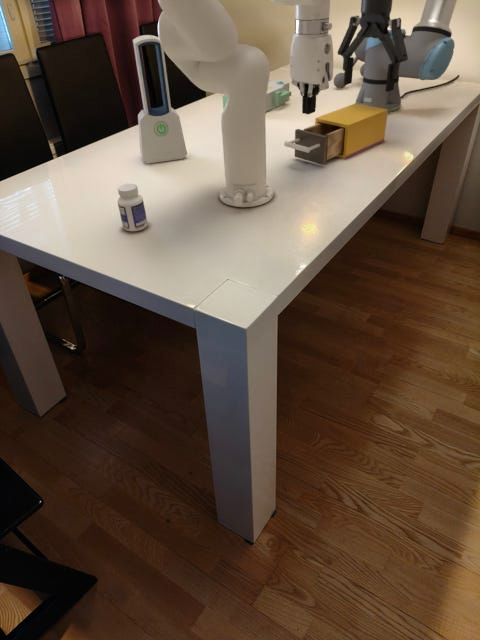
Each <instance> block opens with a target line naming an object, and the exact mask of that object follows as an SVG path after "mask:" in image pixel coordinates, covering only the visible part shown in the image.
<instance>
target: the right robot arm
mask: <svg viewBox="0 0 480 640" xmlns="http://www.w3.org/2000/svg"><path fill="white" fill-rule="evenodd" d="M457 2H458V0H425V3H424V6H423V10H422V13H421V18H420V21H419V22H418V23H416V24H415V25H413V26H412V30H411V34H410V35H409V34H408V35H407V31H406V29H405V28H402V18H401V17H397V18H392V19H391V13H392V8H393V0H361V2H360V3H361V4H360V13H361V15H353V16H350V17H349V23H348V27H347V29H346V32H345V34H344V35H343V39H342V41H341V43H340V45H339V47H338V50H337V55H338V56H341V57H342V59H343V60H342V71H343V73H344V72H345V73H344V85H346V86H347V85H350V84H352V83H353V71H354V66H353V61H354V58H355V57H354V56H353V54H355V50H356V49H357V48H358V46H359V45H360V44H361V42H362V41H363V40H364V38H365V37H366V38H368V39H367V45H366V49H365V51H366V53H365V62H364V63H363V64H364V75H363V76H362V84H361V87H360V89H359V92H358V93H357V97H356V100H355V103H356V104H362V105H367V106H372V107H378V108H383V109H388V112H387V114H390V113H395V112H398V111H399V110H400V109H401V107H402V99H403V98H404V97H406V95H408V94H412V93H417V92H423V91H427V90H432V89H437V88H440V87H443V86H446V85H449V84H452V82H454V81H456V80H457V79H458V78H459V77H460V74H458V75H457V76H455V77H454V78H452V79H450V80H448V81H446V82H443V83H440V84H436V85H432V86H427V87H422V88H418V89H413V90H409V91H406V92H404V93H403V94H402V95H401V92H400V85H399V80H400V78H405V79H406V78H407V79H413V80H414V79H415V80H421V81H436V80H438V79H440V78H441V77H442V76H443V75H444V73H445V72H446V71H447V69H448V67H449V66H450V64H451V62H452V58H453V56H454V49H455V46H456V45H455V40H454V38H452V36H453V35H452V34H453V32H452V29H451V28H450V23H451V21H452V17H453V14H454V10H455V8H456V5H457ZM359 26H360V30H359V31H358V32H357V29H358V28H359ZM389 28H390V29H389ZM356 32H357V33H356ZM355 34H356V36H355ZM354 36H355V37H354Z"/></svg>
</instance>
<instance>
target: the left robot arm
mask: <svg viewBox="0 0 480 640" xmlns="http://www.w3.org/2000/svg"><path fill="white" fill-rule="evenodd" d="M269 1H270V2H272V3H273V4H275V5H280V6H295V15H294V16H295V18H294V19H295V21H294V22H295V23H294V34H293V35H292V41H291V48H290V56H289V76H290V79H291V84H292V85H293V86H295V87H297V88H298V90H299V95H300V97H302V98H301V99H302V101H301V102H302V104H301V112H302V114H304V115H310V114H313V113H315V112H316V108H317V107H316V106H317V96H319V94H320V92H321V91H325V90H329V88H330V85H329V84H330V82H331V81H332V80H333V79H334V77H333V76H334V46H333V38H332V34H330V33H329V31H331V30H332V28H333V23H331V22H330V11H331V10H330V9H331V0H269ZM157 2H158V5H159V7H160V9H161V10H162V11H161V13H160V15H159V18H158V23H157V35H158V36H157V37H159V40H160V43H161V45H162V48H163V50H164V54H166V56H167V57H168V58H169V59H170V60H171V61H172V62H173V63H174V65H175V66H176V67H177V68H178V69H179V70H180V71H181V72H182V73H183V75H185V77H186V78H187V79H188V80H189V81H190V82H191V83H192V84H193V85H194V86H195V87H197V88H198V89H200V90H202V91H204V92H207V93H212V94H217V95H222V96H223V95H227V96H228V100H227V103H226V105H225V107H224V110H222V113H221V117H220V118H221V119H220V126H221V137H222V153H223V166H224V180H225V181H224V182H225V186H224V187H223V188H222V189H220V191H219V199H220V201H221V202H222V203H224V204H225V205H227V206H231V207H236V208H253V207H258V206H261V205H264V204H266V203H269V202H270V201H271V200H272V199H273V197H274V189H273V188H272V187H271V186H270V185H268V184H267V132H266V131H267V130H266V112H265V107H266V95H267V88H268V82H269V81H270V75H271V74H270V73H271V71H270V70H271V67H270V62H269V59H268V57H267V55H266V54H265V53H264V51H262V50H261V49H260V48H258V47H256V46H253V45H250V44H245V43H239V35H238V30H237V27H236V24H235V23H234V21H233V19H232V17H231V16H230V14H229V13H228V11H227V10H226V9H225V7H224V6H223V4H222V3H221V1H220V0H157Z"/></svg>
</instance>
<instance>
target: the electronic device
mask: <svg viewBox="0 0 480 640" xmlns="http://www.w3.org/2000/svg"><path fill="white" fill-rule="evenodd" d="M132 45H133V50H134V57H135V64H136V70H137V77H138V82H139V88H140V93H141V94H140V95H141V100H142V108H143V109H141V110H140V111H139V113H138V114H137V123H138V125H137V126H138V139H139V151H140V152H139V153H140V155H141V159H142V160H143V161H144V162H145V163H146V164H148V165H149V164H154V163H162V162H163V163H164V162H170V161H177V160H183V159H185V158H186V157H187V154H188V151H187V146H186V142H185V137H184V132H183V128H182V124H181V123H182V122H181V118H180V115H179V114H178V112H177V111H176V110H175V109H174V108H173V107H172V104H171V97H170V96H171V95H170V87H169V80H168V73H167V65H166V64H167V63H166V58H165V51H164V50H163V48H162V45H161V43H160V40H159V36H155V35H152V34H143V35H139V36H137V37H135V38H133V39H132ZM146 45H155V52H156V60H157V65H158V66H157V68H158V74H159V83H160V89H161V98H162V104H163V105H161V106H160V107H151V106H150V105H151V104H150V99H149V92H148V86H147V79H146V71H145V67H144V66H145V65H144V60H143V59H144V58H143V53H142V47H143V46H146Z"/></svg>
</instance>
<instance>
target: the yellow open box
mask: <svg viewBox="0 0 480 640" xmlns="http://www.w3.org/2000/svg"><path fill="white" fill-rule="evenodd" d="M387 112H388V109H383V108H378V107H372V106H367V105H362V104H356V102H355V103H352V104H350V105H347V106H344V107H342V108H339V109H336V110H333V111H331V112H328V113H325V114H322V115H320V116H317V117H315V120H314V125H316V124H319V123H321V122H322V123H326V124H331V125H335V126H339V127H344V128H345V140H344V152H343V153H342V154H339V155H337V156H335V157H337V158H339V159H343V160H347V159H349V158H352V157H354V156H356V155H359V154H361V153H362V152H364V151H367V150H369V149H371V148H374V147H376V146H378V145H381V144H382V143H384V142H385V136H386V135H385V134H386V128H387V120H388V113H387Z"/></svg>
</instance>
